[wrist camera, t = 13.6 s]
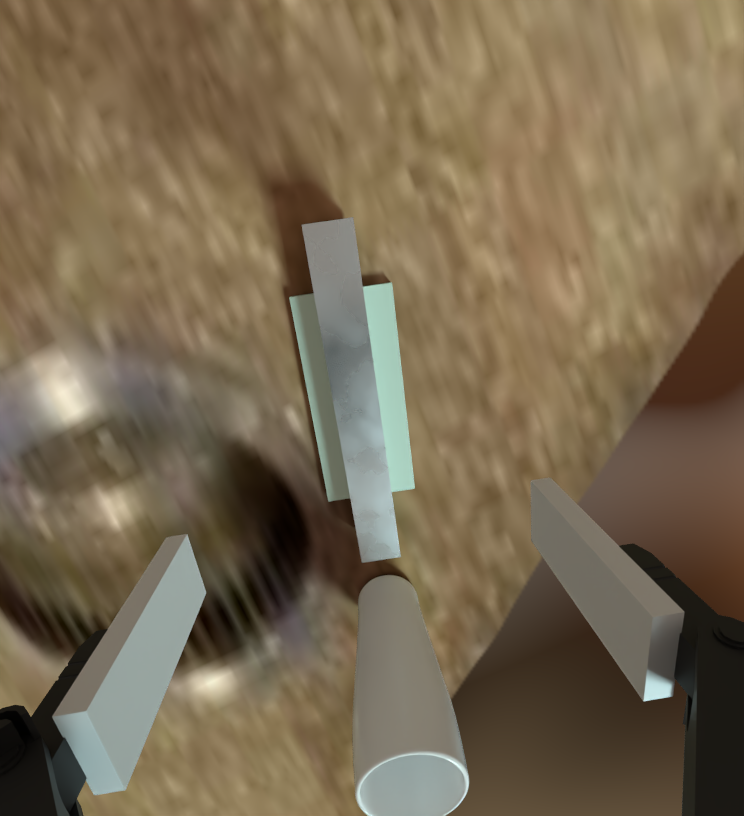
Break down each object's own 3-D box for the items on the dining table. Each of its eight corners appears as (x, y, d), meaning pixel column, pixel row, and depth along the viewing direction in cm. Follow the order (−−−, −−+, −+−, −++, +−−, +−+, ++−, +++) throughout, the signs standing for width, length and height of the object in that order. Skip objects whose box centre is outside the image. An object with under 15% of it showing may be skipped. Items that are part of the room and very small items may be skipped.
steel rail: (396, 533, 35) (400, 556, 32) (360, 538, 35) (361, 562, 32) (351, 221, 27) (353, 217, 24) (305, 228, 27) (301, 224, 24)
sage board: (413, 483, 35) (414, 488, 34) (328, 496, 34) (328, 501, 34) (390, 282, 29) (391, 282, 29) (290, 296, 29) (289, 297, 28)
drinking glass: (386, 636, 40) (409, 842, 26) (333, 597, 38) (328, 797, 24) (439, 593, 39) (495, 785, 24) (388, 551, 37) (416, 733, 22)
